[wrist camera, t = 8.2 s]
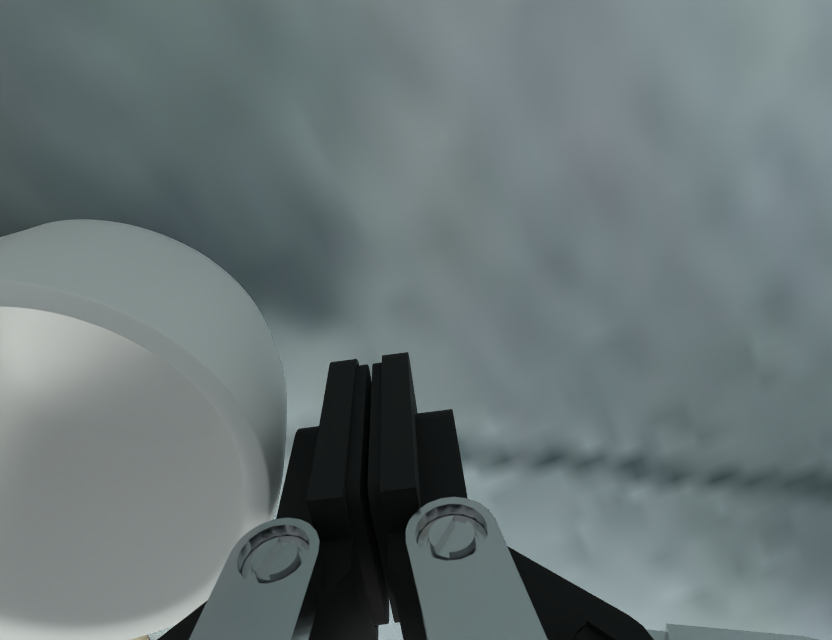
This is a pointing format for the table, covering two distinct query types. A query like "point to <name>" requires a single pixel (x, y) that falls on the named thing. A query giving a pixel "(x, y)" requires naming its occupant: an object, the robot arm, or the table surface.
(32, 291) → the teacup
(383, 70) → the table surface
